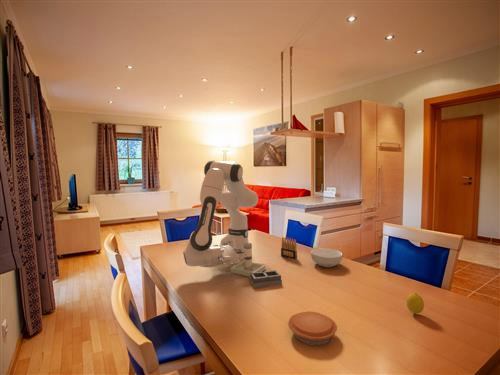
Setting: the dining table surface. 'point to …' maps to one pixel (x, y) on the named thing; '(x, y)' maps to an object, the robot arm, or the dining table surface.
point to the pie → (312, 327)
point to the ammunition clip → (289, 248)
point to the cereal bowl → (326, 257)
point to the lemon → (415, 303)
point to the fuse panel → (265, 279)
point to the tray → (240, 270)
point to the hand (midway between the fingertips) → (243, 252)
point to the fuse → (248, 256)
